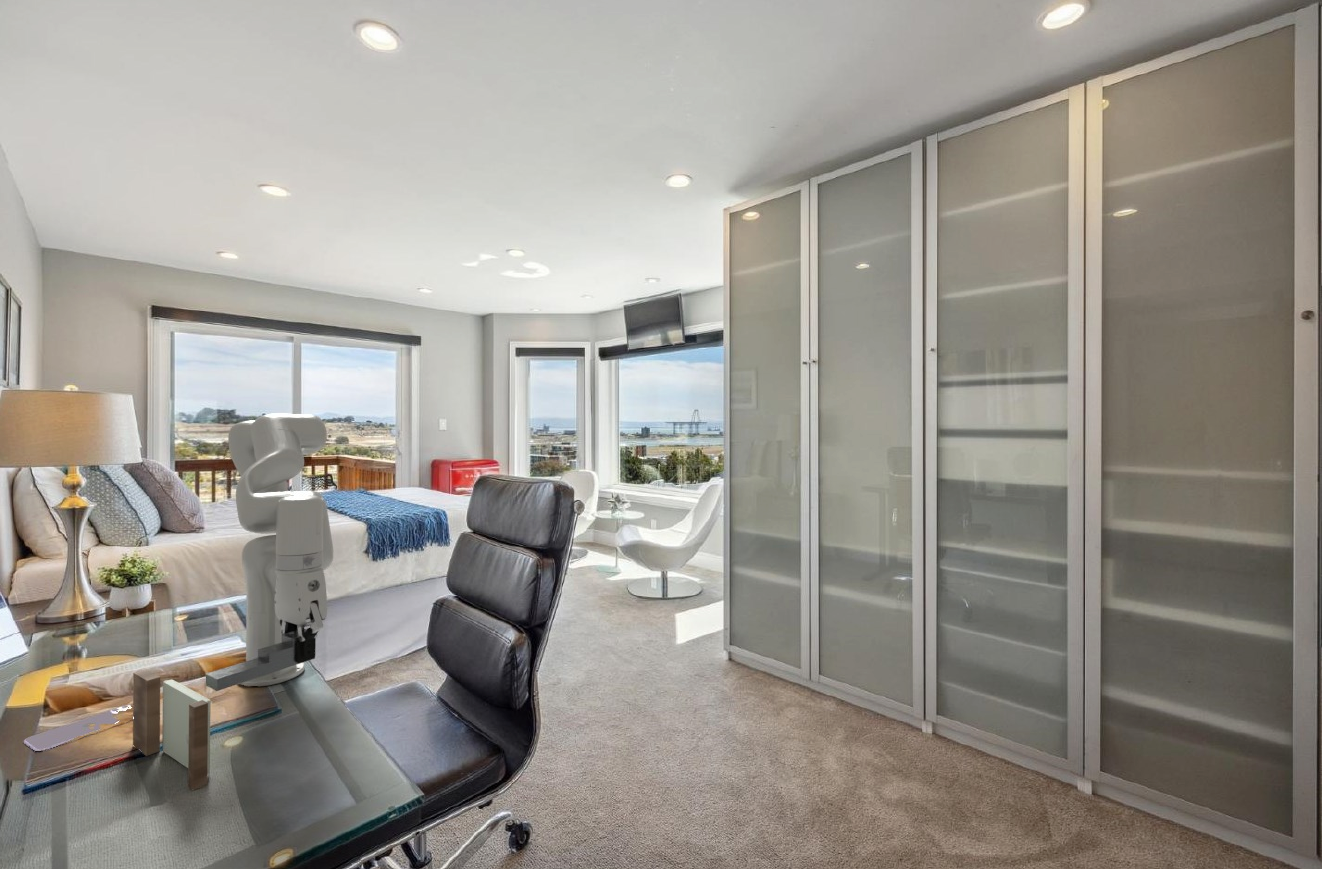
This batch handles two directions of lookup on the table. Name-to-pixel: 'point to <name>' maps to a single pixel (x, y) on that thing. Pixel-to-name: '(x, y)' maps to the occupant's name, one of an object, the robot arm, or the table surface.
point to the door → (179, 721)
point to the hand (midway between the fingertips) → (298, 656)
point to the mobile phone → (72, 730)
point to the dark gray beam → (257, 664)
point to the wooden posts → (149, 726)
